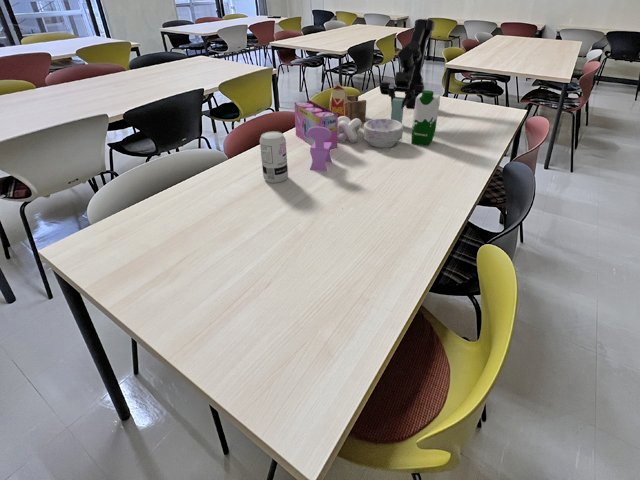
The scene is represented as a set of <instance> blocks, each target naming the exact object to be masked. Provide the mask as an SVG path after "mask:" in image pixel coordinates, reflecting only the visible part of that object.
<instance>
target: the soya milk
mask: <svg viewBox="0 0 640 480" xmlns="http://www.w3.org/2000/svg"><path fill="white" fill-rule="evenodd" d="M440 99H441V94H434V91H432V90H424V91H423V92H422V93H420V94H419V95H418V96H417V97H416V102H415V108H413V117H412V127H411V141H410V142H411V143H410V144H411V145H419V146H426V147H429V146H431V143H432V141H433V139H434V136H435V133H436V128H437V123H438V117H439V109H440V101H441V100H440Z"/></svg>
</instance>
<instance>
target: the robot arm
mask: <svg viewBox="0 0 640 480" xmlns="http://www.w3.org/2000/svg"><path fill="white" fill-rule="evenodd" d="M435 25H436V24H435V21H433V19H432V18H431V19H429V18H425V19H424V18H417V19H416V20H415V21H414V26H413V32H412V35H411V39H410V41H409V42H408V43H407V44H405V47H404V48H402V49H401V50H399V51H398V54H397V55H398V56H397V57H398V61H399V66H400V71H396V72H395V77H394V81H395V82H394V85H393V84H391V83H390V82H388V81H387V82H385V81H382V82H380V83H379V91H380V94H381V95H384V96H385V95H386V96H388V97H390V103H391V108H392V100H393V99H394V98H395V97H397V96H396V93H397V92H398V93H404V97H403V98H404V101H403V103H402V109H403V110H404V108H405V107H406V108H407V109H415V102H416V97H417V96H418V95H419V94H420V93H422V92H423V91H425V85H424V78H423V75H422V69H423V64H424V59H425V54H426V48H427V43H428V40H429V39H430V38H431V36H432V34H433V31H435Z"/></svg>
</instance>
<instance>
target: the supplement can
mask: <svg viewBox="0 0 640 480" xmlns="http://www.w3.org/2000/svg"><path fill="white" fill-rule="evenodd" d="M286 141H287V140H286V137H285V136H284V133H282V132H281V131H277V130H276V131H275V130H274V131H266V132H263V133H262V134H261V135H260V138H259V148H260V149H259V150H260V156H261V158H260V159H261V165H262V166H261V167H262V175H263V179H264V180H265V181H266V182H268V183H271V184H279V183H282V182H285V181H286V179H288V177H289V169H288V154H287V142H286Z"/></svg>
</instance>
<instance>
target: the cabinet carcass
mask: <svg viewBox="0 0 640 480" xmlns="http://www.w3.org/2000/svg"><path fill="white" fill-rule="evenodd" d="M347 101H348V112H349V119H350V120H351V121H352V120H353V119H355V118H358V119H360V120H361V123H366V116H367V100H366V99H363V100H359V95H358V94H349V95H347Z"/></svg>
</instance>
